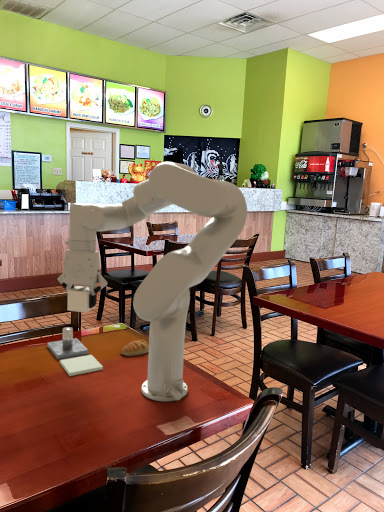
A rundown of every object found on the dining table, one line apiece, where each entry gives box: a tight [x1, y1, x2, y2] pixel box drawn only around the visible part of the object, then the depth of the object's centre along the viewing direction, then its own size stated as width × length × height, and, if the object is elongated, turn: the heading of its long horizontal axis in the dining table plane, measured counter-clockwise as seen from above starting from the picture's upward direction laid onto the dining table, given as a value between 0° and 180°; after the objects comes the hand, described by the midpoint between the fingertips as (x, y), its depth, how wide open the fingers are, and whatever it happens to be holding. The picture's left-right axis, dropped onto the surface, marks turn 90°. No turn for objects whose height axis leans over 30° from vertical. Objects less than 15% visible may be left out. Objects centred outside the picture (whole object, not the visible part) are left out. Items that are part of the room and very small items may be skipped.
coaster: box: [59, 354, 104, 377], centre depth 124 cm, size 10×10×1 cm
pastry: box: [119, 339, 149, 357], centre depth 137 cm, size 9×7×4 cm
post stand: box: [47, 326, 89, 360], centre depth 135 cm, size 12×10×8 cm
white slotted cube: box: [66, 285, 97, 314], centre depth 121 cm, size 6×6×6 cm
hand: (81, 305), depth 121 cm, fingers closed on white slotted cube, 5 cm apart
